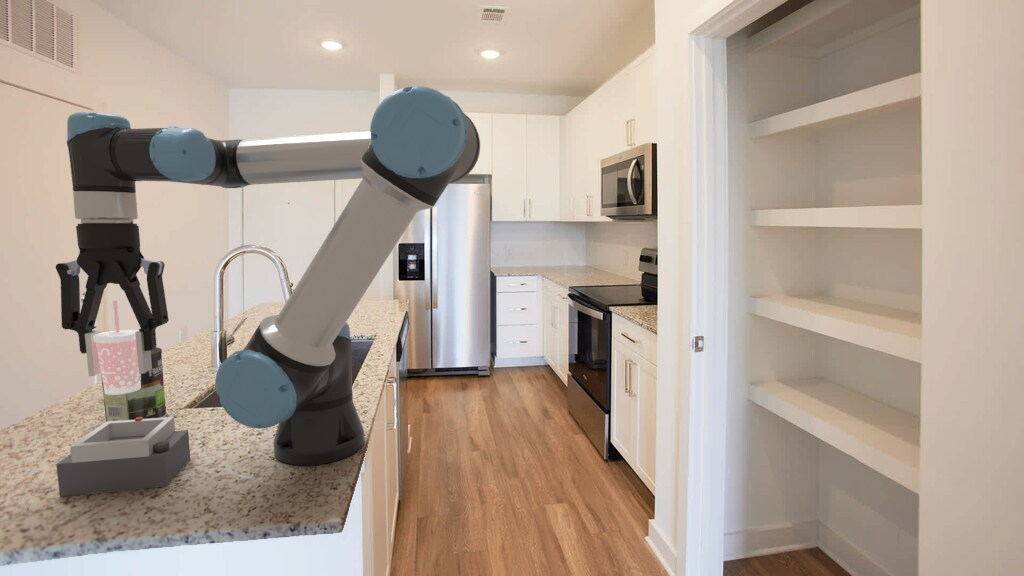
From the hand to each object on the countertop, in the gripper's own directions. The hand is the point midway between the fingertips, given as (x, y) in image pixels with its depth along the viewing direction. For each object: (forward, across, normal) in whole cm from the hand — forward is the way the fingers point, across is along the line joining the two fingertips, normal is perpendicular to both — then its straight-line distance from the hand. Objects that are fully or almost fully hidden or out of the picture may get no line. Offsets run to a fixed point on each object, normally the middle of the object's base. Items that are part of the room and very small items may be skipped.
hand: (121, 372), depth 83 cm
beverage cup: (+3, 0, 0) cm, 3 cm away
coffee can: (+17, +10, -27) cm, 33 cm away
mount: (+17, 0, 0) cm, 17 cm away
